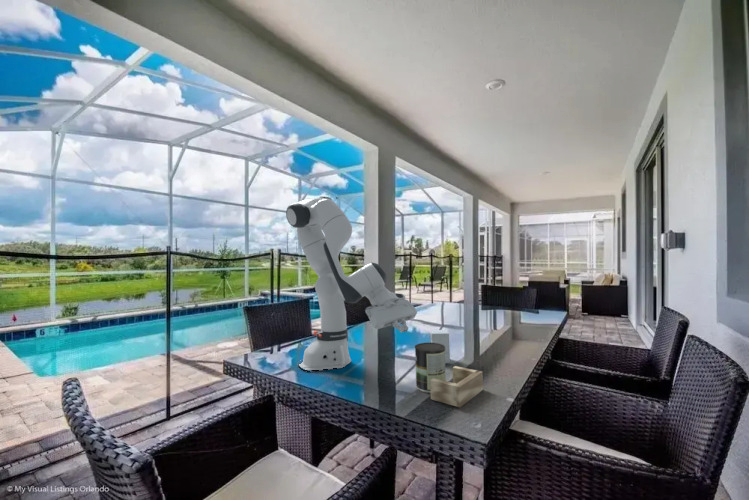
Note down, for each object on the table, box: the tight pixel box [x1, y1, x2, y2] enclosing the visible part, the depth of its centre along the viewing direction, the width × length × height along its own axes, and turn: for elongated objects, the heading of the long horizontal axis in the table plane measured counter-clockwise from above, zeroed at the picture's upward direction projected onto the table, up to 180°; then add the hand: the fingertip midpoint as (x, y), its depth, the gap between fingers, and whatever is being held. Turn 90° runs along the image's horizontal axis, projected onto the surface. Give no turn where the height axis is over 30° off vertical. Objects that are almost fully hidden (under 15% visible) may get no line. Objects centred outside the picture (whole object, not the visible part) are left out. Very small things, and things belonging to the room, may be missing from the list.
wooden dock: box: [430, 365, 484, 408], centre depth 112 cm, size 10×17×6 cm, turn 140°
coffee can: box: [414, 342, 446, 394], centre depth 118 cm, size 10×10×14 cm
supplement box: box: [430, 329, 451, 364], centre depth 148 cm, size 7×7×13 cm
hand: (405, 330), depth 125 cm, fingers closed
